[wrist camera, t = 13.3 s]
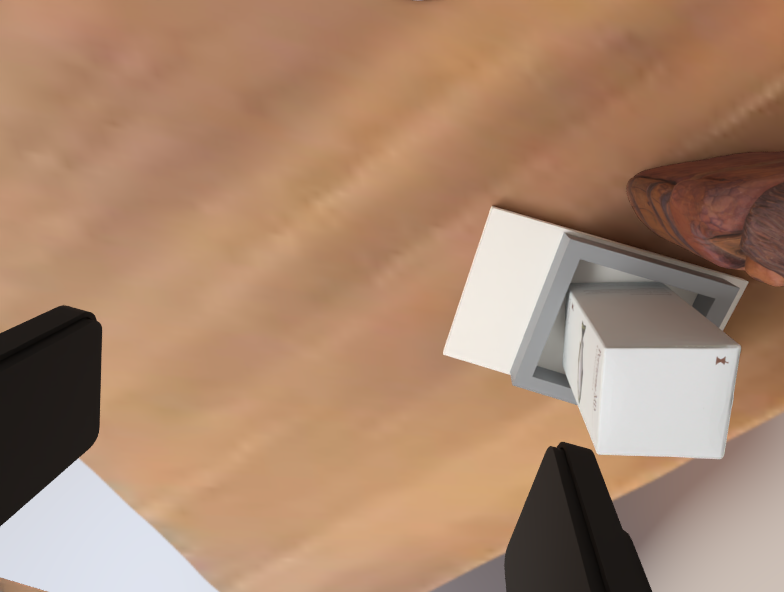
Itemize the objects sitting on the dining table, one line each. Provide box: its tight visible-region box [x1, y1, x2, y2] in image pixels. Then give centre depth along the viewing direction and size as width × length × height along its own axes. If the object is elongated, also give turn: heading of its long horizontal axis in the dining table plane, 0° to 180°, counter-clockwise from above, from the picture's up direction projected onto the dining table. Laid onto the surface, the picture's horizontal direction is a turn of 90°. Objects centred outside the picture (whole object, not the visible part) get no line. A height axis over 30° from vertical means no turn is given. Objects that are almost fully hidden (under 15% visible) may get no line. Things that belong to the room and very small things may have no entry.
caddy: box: [443, 206, 749, 405], centre depth 40 cm, size 13×20×4 cm, turn 75°
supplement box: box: [562, 282, 741, 459], centre depth 35 cm, size 7×7×13 cm
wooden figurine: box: [626, 151, 784, 287], centre depth 30 cm, size 12×6×18 cm, turn 99°
